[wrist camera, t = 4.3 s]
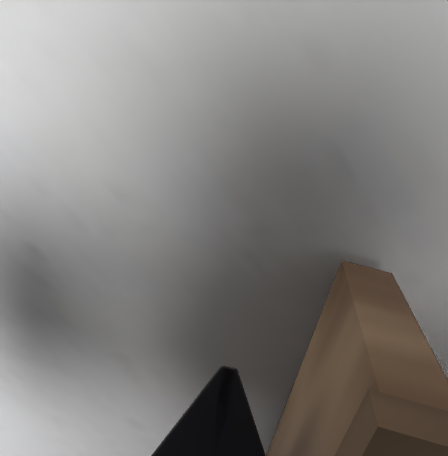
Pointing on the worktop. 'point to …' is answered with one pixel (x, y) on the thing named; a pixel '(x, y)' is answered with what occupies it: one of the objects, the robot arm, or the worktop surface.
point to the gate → (366, 378)
